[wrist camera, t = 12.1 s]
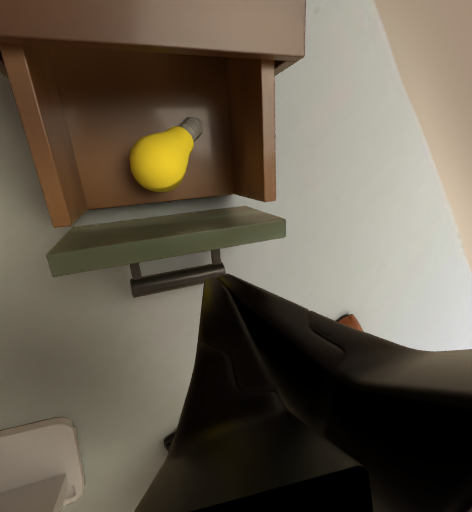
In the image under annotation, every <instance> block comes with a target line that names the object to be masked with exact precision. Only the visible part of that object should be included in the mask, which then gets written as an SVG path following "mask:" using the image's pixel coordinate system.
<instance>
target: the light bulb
mask: <svg viewBox="0 0 472 512" xmlns="http://www.w3.org/2000/svg"><path fill="white" fill-rule="evenodd" d="M202 132H203V129H202V123H201V121H200V119H198V118H194V117H191V116H190V117H186V119H184V121H183V122H182V123H181V124H180V125H179V126H174V127H171V128H169V129H168V130H166V131H165V132H160V133H155V134H150V135H147V136H143V137H142V138H140V139H139V140H137V141H136V142H135V144H134V145H133V147H132V148H131V153H130V157H129V158H130V167H131V172H132V174H133V176H134V178H135V179H136V181H137V182H138V183H139V184H140V185H141V186H143V187H144V188H146V189H148V190H151V191H155V192H168V191H171V190H173V189H175V188H176V187H177V186H178V185H180V183H181V181H182V180H183V178H184V175H185V172H186V168H187V164H188V159H189V155H190V154H191V152H192V150H193V147H194V142H195V140H197V139H198V138H199V137H200V135H202Z"/></svg>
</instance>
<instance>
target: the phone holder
mask: <svg viewBox="0 0 472 512" xmlns="http://www.w3.org/2000/svg"><path fill="white" fill-rule="evenodd" d="M71 422H72V420H70V419H68V418H64V417H58V418H53V419H49V420H44V421H40V422H36V423H32V424H27V425H23V426H19V427H14V428H10V429H6V430H2V431H0V512H61V509H62V506H64V505H67V504H70V503H72V502H74V501H76V500H77V499H78V498H80V497H81V495H82V494H83V492H84V486H85V478H84V472H83V466H82V461H81V455H80V449H79V444H78V438H77V432H76V426H73V425H72V424H71Z"/></svg>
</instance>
